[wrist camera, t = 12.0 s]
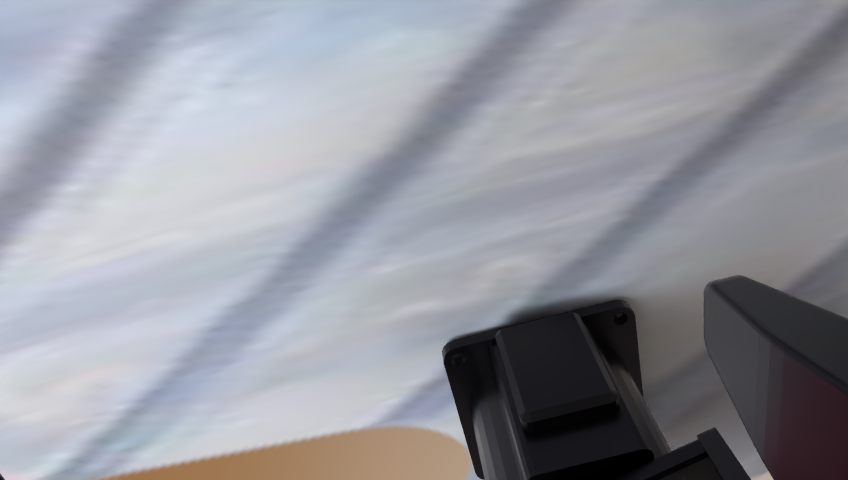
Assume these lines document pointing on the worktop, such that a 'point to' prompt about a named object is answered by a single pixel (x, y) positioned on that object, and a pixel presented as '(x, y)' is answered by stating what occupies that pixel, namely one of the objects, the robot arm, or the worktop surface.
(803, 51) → the worktop surface
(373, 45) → the worktop surface
